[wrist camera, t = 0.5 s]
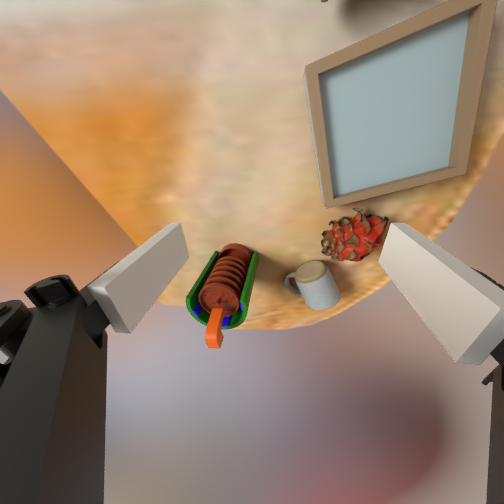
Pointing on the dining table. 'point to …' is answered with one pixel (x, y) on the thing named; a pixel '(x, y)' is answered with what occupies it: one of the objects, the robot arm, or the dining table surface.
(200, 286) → the green and brown toy
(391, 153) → the picture frame
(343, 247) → the dragon fruit
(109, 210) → the dining table surface
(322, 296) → the ceramic mug
